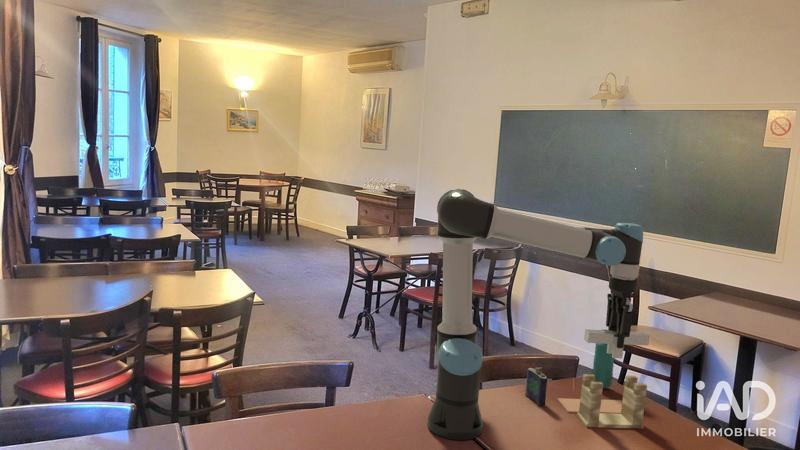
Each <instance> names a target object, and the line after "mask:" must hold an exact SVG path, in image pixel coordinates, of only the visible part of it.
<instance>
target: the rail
mask: <svg viewBox="0 0 800 450" xmlns="http://www.w3.org/2000/svg"><path fill="white" fill-rule="evenodd" d="M616 332H617V331H608V329H584V337H583V340H585V342H586V343H588V344H596V343H604V344H614V334H616ZM649 344H650V335H649V334H648V333H647V332H644V331H630V336H629V337H625V339H624V346H625V345H626V346H628V345H629V346H630V345H631V346H649Z"/></svg>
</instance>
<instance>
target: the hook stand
mask: <svg viewBox="0 0 800 450" xmlns="http://www.w3.org/2000/svg"><path fill="white" fill-rule="evenodd" d="M638 379H639V378H638V377H637V375H636V376H635V375H625V378H624V386H623V394H622V399H621V400H622V408H621V414H610V413H600V407H601V400H602V398H603V389H604V388H603V383H602V382H595V376H594V375H593V373H591V374H589V373H588V374H587V373H583V374H582V381H581V392H580V398H579V399H580V407H579V413H576V416H577V417H578V419H579V420H580V421H581V423H582V424H583V425H584V426H585V427H586V428H605V429H606V428H608V429H609V428H610V429H644V424H643V420H644V413H645V407H646V406H645V404H646V398H647V390H648V385H647V384H645V383H643V382H642V383H641V382H638Z"/></svg>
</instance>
